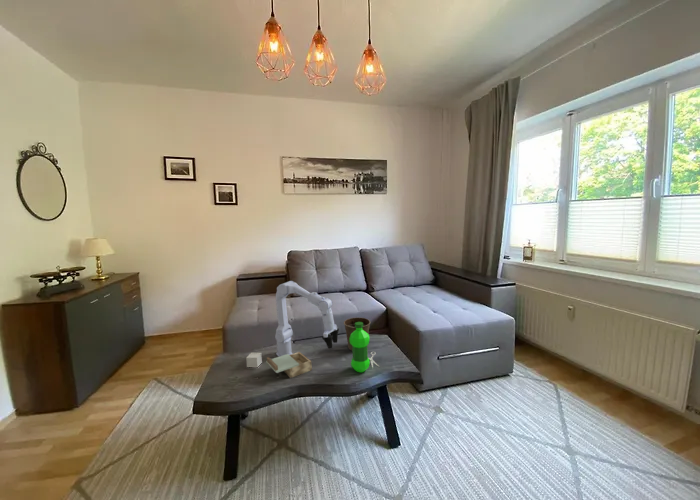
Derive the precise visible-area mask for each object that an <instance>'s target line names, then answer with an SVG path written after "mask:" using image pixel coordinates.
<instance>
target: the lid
mask: <svg viewBox="0 0 700 500" xmlns="http://www.w3.org/2000/svg"><path fill="white" fill-rule="evenodd" d="M266 364H268V366H269V367H270V368H271V369H272V370H273V371H274V372H275V373H276V374H279V373H281V372H284V370H287V369H290V368H293V367H296V366H298V365H299V363H298V362H296V361H295V360H294V359H293V358H292V357H291V356H290V355H288V354H286V355H283V356H280V357H278V356H276V357H274V358H270V357H266Z"/></svg>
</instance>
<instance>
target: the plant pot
mask: <svg viewBox="0 0 700 500" xmlns="http://www.w3.org/2000/svg"><path fill="white" fill-rule="evenodd" d="M356 322H362V323H363V327H362V330H364V331H365V332H366V333H368V334H369V332H370V331H369V330H370V325H371V321H370V319H369V318H366V317H357V316H356V317H350V318H347V319H345V320H344V321H343V326H344V329H345V333H346V334H345V335H346V342H347V348H348V350H350V351H352V345H351V344H350V340H349V339H350V335H351V333H353V332H354V331H355V330H356V327H355V323H356ZM368 347H369V344H368V345H367V349H368Z"/></svg>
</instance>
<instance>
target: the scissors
mask: <svg viewBox="0 0 700 500" xmlns="http://www.w3.org/2000/svg"><path fill="white" fill-rule="evenodd" d="M376 353H377V352H376V351H371V352H370V355H372V356H371V357H368V358H369V360H370V364H371V365H370V366H371V368H372V369H374V365H376V366H378V367H379V364H377V362H375V360H374V359H373V358H374V356H375V355H376Z"/></svg>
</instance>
